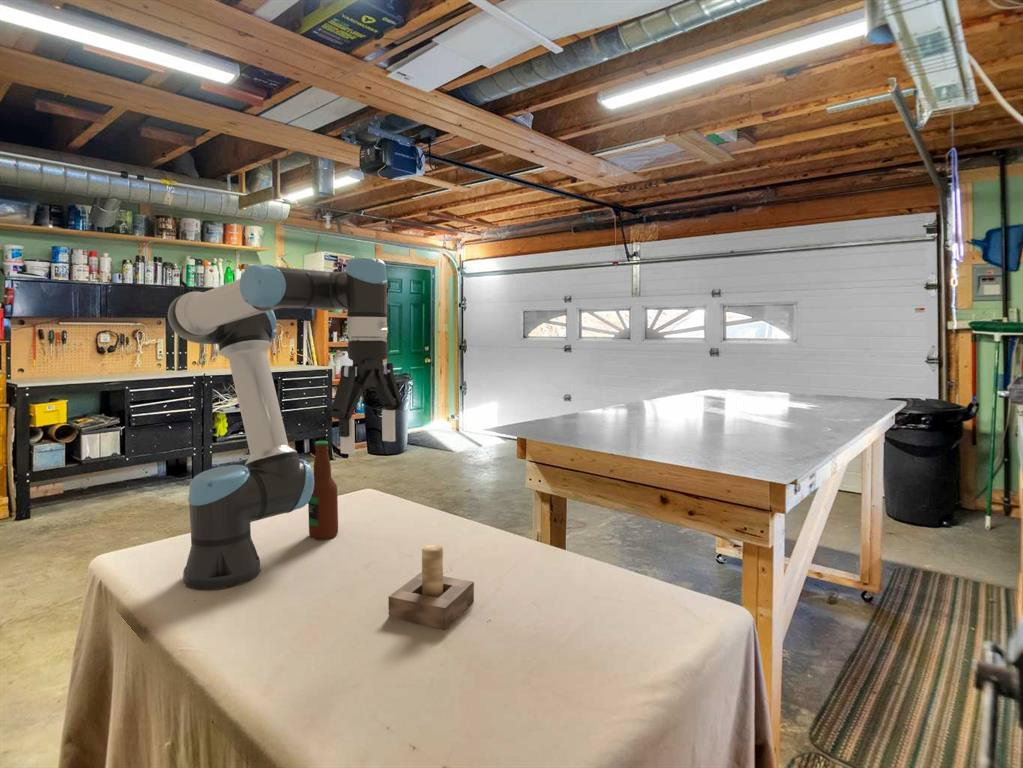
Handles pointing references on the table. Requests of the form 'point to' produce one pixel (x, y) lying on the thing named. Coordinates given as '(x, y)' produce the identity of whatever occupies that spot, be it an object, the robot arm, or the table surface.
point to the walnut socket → (431, 602)
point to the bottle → (323, 497)
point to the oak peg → (432, 571)
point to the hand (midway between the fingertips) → (369, 447)
